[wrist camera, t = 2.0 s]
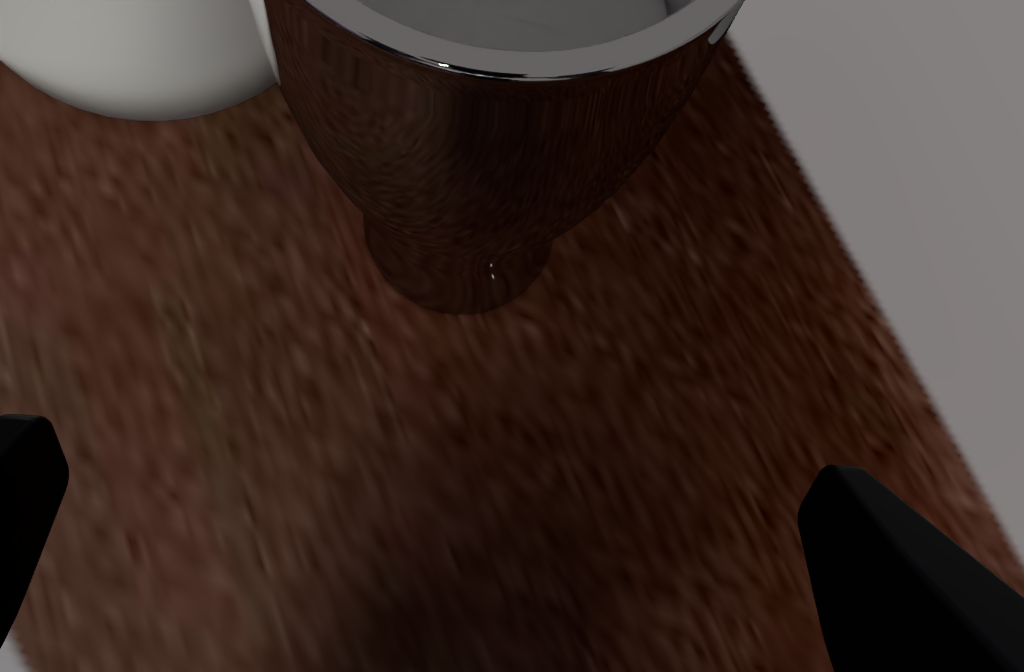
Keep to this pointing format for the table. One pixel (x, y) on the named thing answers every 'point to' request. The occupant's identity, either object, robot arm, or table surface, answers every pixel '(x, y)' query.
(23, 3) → the cream stand
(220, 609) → the table surface
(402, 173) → the beer glass
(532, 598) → the table surface
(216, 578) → the table surface
